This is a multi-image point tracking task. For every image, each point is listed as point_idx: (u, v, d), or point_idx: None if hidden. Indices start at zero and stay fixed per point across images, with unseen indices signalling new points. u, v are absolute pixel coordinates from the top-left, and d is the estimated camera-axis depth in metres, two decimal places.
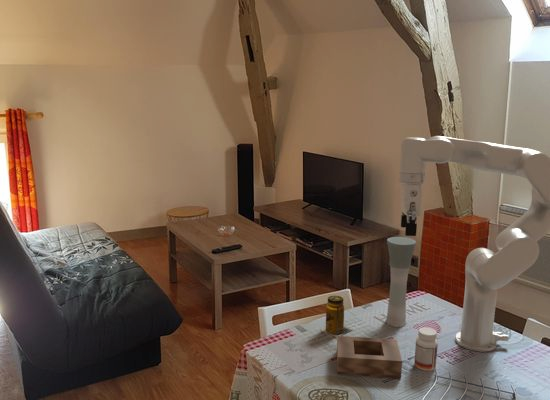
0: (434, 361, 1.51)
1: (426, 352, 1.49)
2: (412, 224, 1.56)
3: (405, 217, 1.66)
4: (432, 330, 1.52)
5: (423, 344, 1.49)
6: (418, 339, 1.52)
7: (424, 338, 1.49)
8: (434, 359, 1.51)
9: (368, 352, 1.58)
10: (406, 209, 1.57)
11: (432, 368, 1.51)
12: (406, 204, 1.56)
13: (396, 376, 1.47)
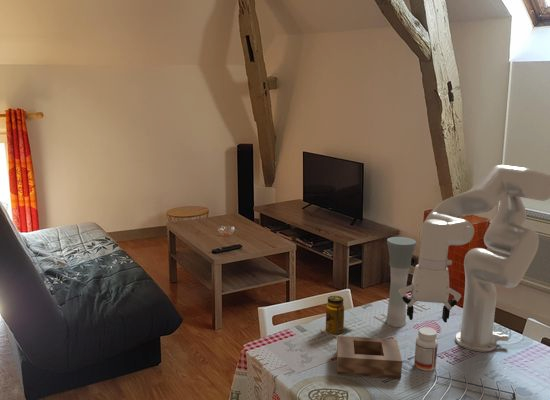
0: (434, 361, 1.51)
1: (426, 352, 1.49)
2: None
3: (412, 307, 1.49)
4: (432, 330, 1.52)
5: (423, 344, 1.49)
6: (418, 339, 1.52)
7: (424, 338, 1.49)
8: (434, 359, 1.51)
9: (368, 352, 1.58)
10: (448, 296, 1.46)
11: (432, 368, 1.51)
12: (448, 291, 1.46)
13: (396, 376, 1.47)
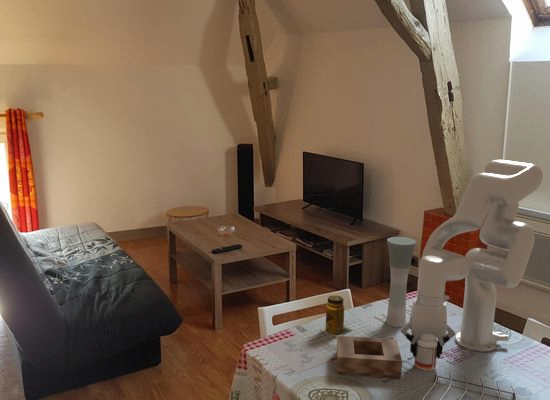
0: (434, 361, 1.51)
1: (426, 352, 1.49)
2: None
3: None
4: None
5: (423, 344, 1.49)
6: (418, 339, 1.52)
7: (424, 338, 1.49)
8: (434, 359, 1.51)
9: (368, 352, 1.58)
10: (446, 331, 1.49)
11: (432, 368, 1.51)
12: (446, 326, 1.48)
13: (396, 376, 1.47)
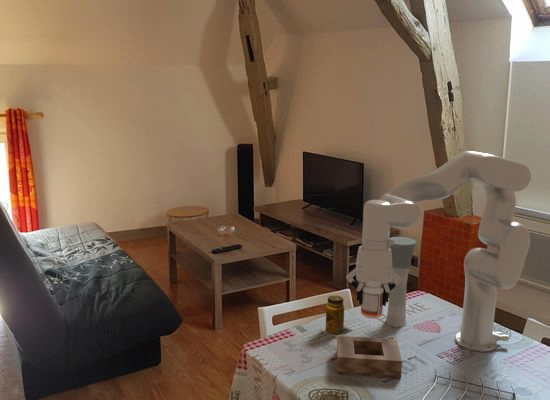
0: (380, 309, 1.48)
1: (371, 298, 1.46)
2: None
3: None
4: None
5: (368, 291, 1.46)
6: (364, 286, 1.48)
7: (369, 284, 1.46)
8: (380, 306, 1.48)
9: (368, 352, 1.58)
10: (391, 277, 1.46)
11: (378, 315, 1.48)
12: (391, 271, 1.45)
13: (396, 376, 1.47)
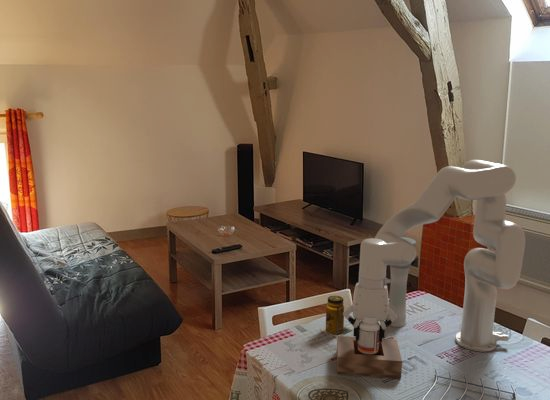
0: (376, 345, 1.50)
1: (368, 335, 1.49)
2: None
3: (358, 328, 1.51)
4: None
5: (364, 328, 1.49)
6: (360, 323, 1.51)
7: (366, 321, 1.49)
8: (376, 343, 1.50)
9: None
10: (387, 314, 1.48)
11: (374, 352, 1.50)
12: (387, 309, 1.48)
13: (396, 376, 1.47)
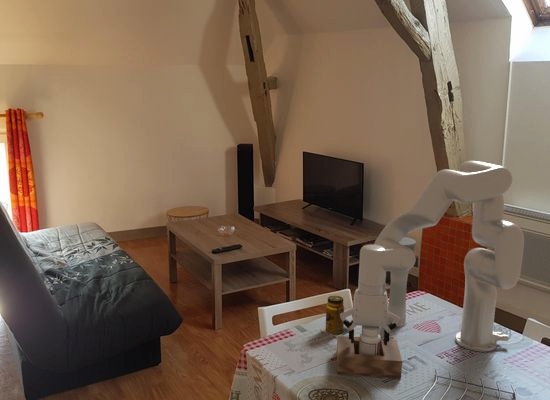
0: None
1: (368, 347, 1.49)
2: None
3: (353, 331, 1.52)
4: None
5: (365, 340, 1.50)
6: (361, 335, 1.52)
7: (366, 334, 1.49)
8: (377, 355, 1.51)
9: None
10: (387, 320, 1.48)
11: None
12: (387, 315, 1.48)
13: (396, 376, 1.47)
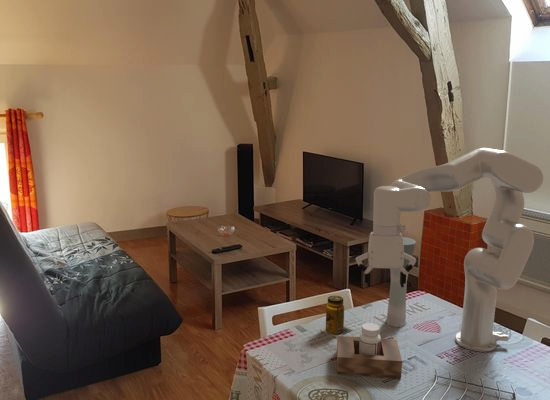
0: None
1: (368, 347, 1.49)
2: None
3: None
4: (376, 326, 1.52)
5: (365, 340, 1.50)
6: (361, 335, 1.52)
7: (366, 334, 1.49)
8: (377, 355, 1.51)
9: None
10: (403, 261, 1.48)
11: None
12: (403, 256, 1.47)
13: (396, 376, 1.47)
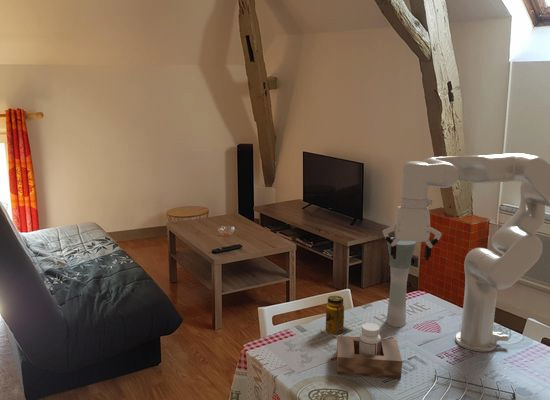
0: None
1: (368, 347, 1.49)
2: None
3: None
4: (376, 326, 1.52)
5: (365, 340, 1.50)
6: (361, 335, 1.52)
7: (366, 334, 1.49)
8: (377, 355, 1.51)
9: None
10: (429, 234, 1.53)
11: None
12: (429, 229, 1.52)
13: (396, 376, 1.47)
